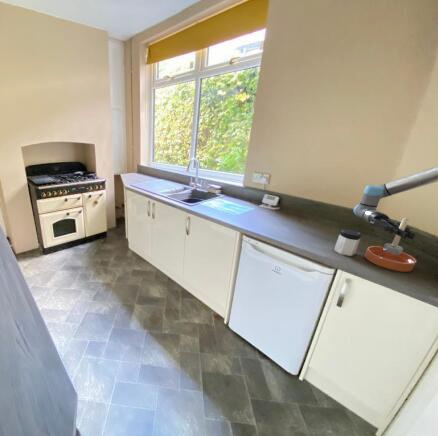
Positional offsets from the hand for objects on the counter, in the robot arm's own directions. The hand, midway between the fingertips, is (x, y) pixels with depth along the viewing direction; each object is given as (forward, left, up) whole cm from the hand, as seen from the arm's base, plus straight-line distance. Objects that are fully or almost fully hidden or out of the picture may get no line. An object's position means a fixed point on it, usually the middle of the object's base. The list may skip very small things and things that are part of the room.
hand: (409, 236), depth 106 cm
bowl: (+2, -5, -17) cm, 18 cm away
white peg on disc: (+2, -5, -11) cm, 12 cm away
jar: (+19, -5, -17) cm, 27 cm away
